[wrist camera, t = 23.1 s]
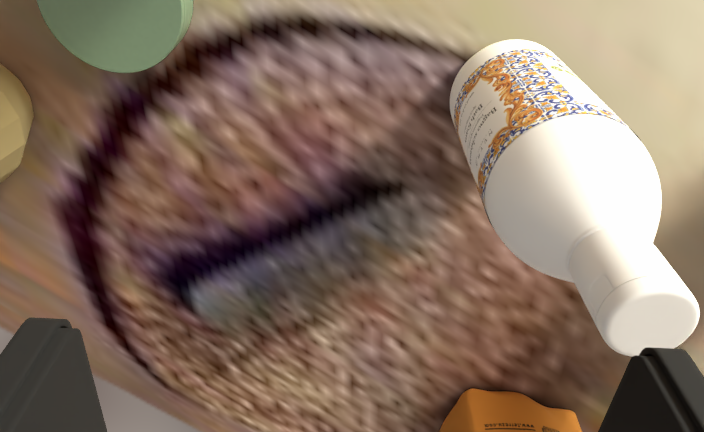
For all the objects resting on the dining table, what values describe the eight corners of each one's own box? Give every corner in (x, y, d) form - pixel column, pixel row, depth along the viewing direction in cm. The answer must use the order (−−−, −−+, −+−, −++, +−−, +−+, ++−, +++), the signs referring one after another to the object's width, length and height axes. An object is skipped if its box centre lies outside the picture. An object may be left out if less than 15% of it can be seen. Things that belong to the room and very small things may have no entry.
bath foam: (475, 20, 32) (610, 203, 15) (586, 56, 33) (828, 265, 16) (430, 130, 36) (499, 377, 19) (532, 159, 37) (684, 419, 20)
